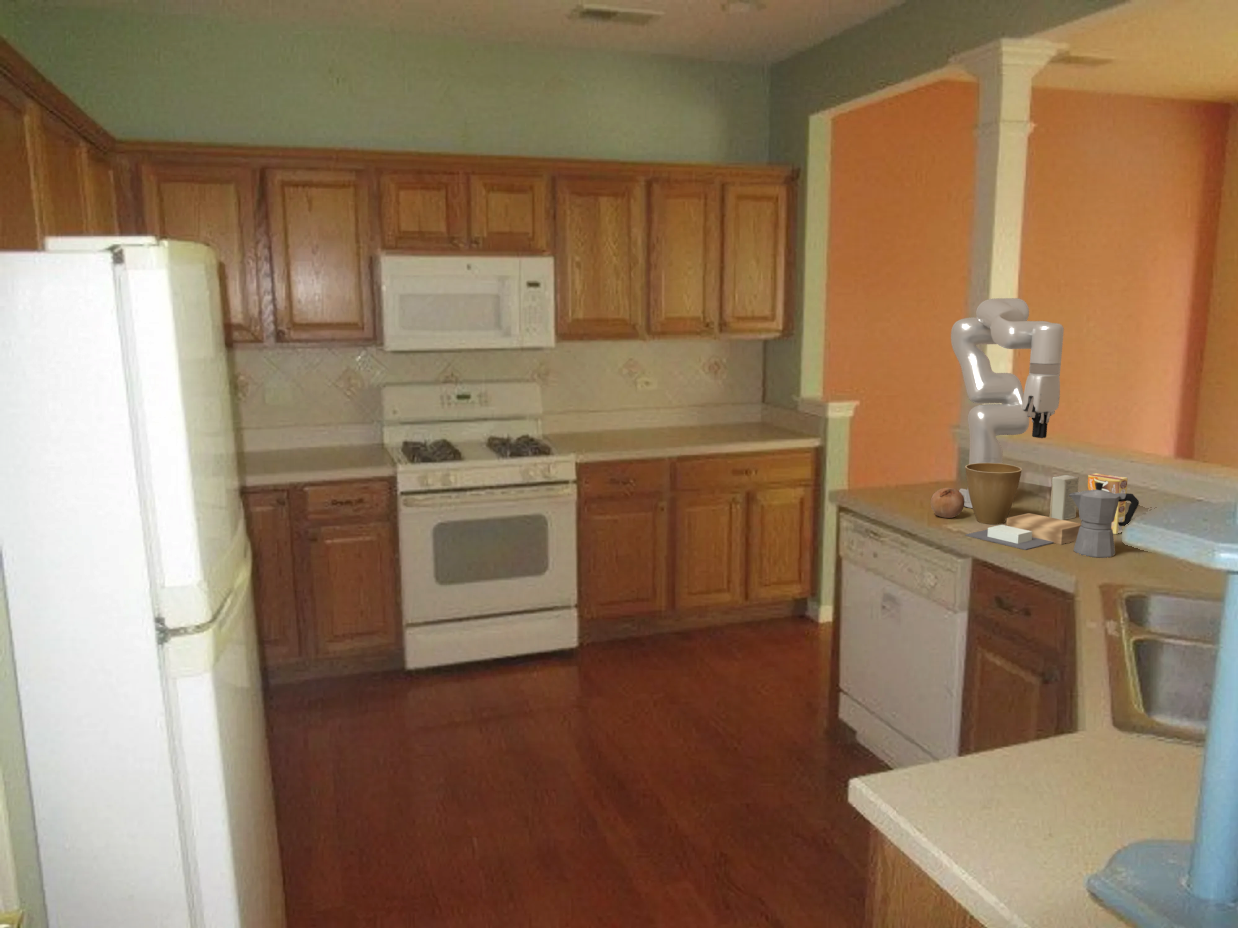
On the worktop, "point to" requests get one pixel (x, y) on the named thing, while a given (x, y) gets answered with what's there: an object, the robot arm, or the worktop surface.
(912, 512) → the worktop surface
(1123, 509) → the candy box
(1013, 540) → the white rectangular block
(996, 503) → the plant pot
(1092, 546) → the coffeepot
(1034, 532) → the wooden block
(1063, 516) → the skincare box
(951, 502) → the onion
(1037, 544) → the mat
